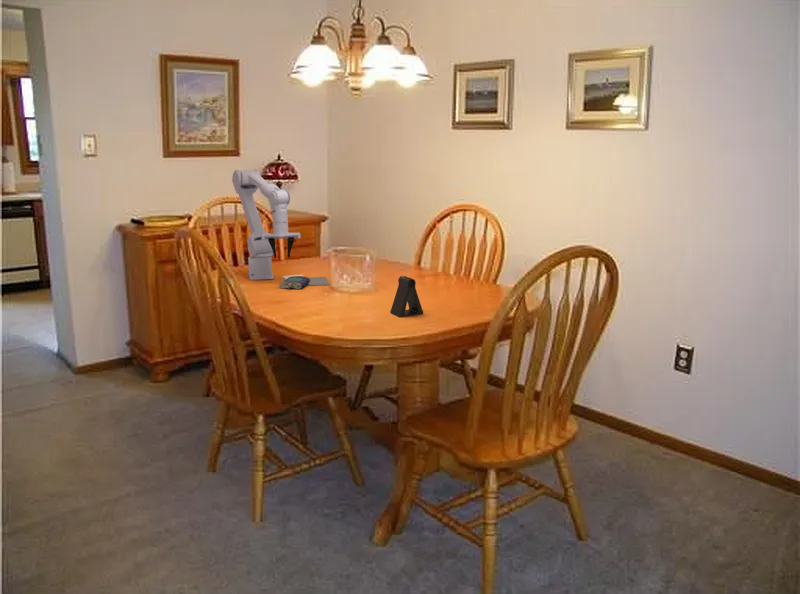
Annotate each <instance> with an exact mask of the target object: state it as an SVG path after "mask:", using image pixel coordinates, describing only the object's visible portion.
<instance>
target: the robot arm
mask: <svg viewBox="0 0 800 594" xmlns="http://www.w3.org/2000/svg"><path fill="white" fill-rule="evenodd" d="M231 181H232V185H233V187H234V190H235V191H234V192H235V194H237V195H238V196H239V199H240V203H241V206H242V209H243V212H244V215H245V219H246V221H247V225H248V228H249V231H250V234H249V236H248V238H247V240H246V242H247V251H248V253H249V255H250V256H248V260H247V261H248V270H247V274H248V277H249V278H248V279H249V281H253V280H254V281H256V280H273V279H275V276H274V274H273V263H272V262H273V261H272V259H273V258H274V259H277V251H276V248H277V245H276V240H282V239H284V240H285V239H286V240H287V243H286V244H287V258H289V259H290V258H291V257H290V256H291V252H292V248H293V245H294V242H295V239H301V232H289V216H288V213H289V212H288V211H289V210H288V205H289V204H290V202H291V195H290V192H289V190H287V189H285V188H284V189H281V188H279V186H277V185H276V184H274V182H273V181H272V180H267V181H266V180H265V179H264V178H263V177H262V176H261V172H260V171H259V170H258V169H256V168H255V169H243V170H242V169H241V170H238V169H236V170H234V171H233V173H232V178H231ZM258 189H259V190H260V193H261V194H262V195H263V196H264V197H265V198H267V200H268V203H269V205H270V210H271V212H272V213H271V215H272V217H271V218H272V232H271V233H269V232H268V231H266V230H265V229H264V227H263V224H262V223H263V222H262V220H261V217H260V214H259V211H258V208H257V206H256V202H255V199H254V196H253V194H255V193H257V190H258ZM272 257H273V258H272Z"/></svg>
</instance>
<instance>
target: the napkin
mask: <svg viewBox="0 0 800 594" xmlns="http://www.w3.org/2000/svg"><path fill="white" fill-rule="evenodd" d="M293 276H304V275H303V274H292V275H291V274H290V275H283V276H282V279H284V280H286V279H287V278H289V277H293Z"/></svg>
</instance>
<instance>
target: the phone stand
mask: <svg viewBox="0 0 800 594" xmlns="http://www.w3.org/2000/svg"><path fill="white" fill-rule="evenodd" d="M407 306H408V308H407ZM422 307H423V306H422V304H421V301H420V298H419V295H418V293H417V289H416V280H415V279H414V278H411V277H410V276H409V277H408V276H406V275H403V276H399V277H398V286H397V288H396V293H395V296H394V299H393V302H392V305H391V309H390V314H392V315H395V316H396V317H397V318H404V317H411V316H418V315H423V314H424V310H423V308H422Z"/></svg>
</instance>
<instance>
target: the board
mask: <svg viewBox="0 0 800 594" xmlns="http://www.w3.org/2000/svg"><path fill="white" fill-rule="evenodd" d="M306 277H307V276H306ZM307 278H309V279H310V282H309V283H308V284H307V285H308V287H315V286H316V287H317V286H321V287H322V286H331V285H330V284H331V283H330V282H329V280H328V278H327V277H326V276H311V277H307Z"/></svg>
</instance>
